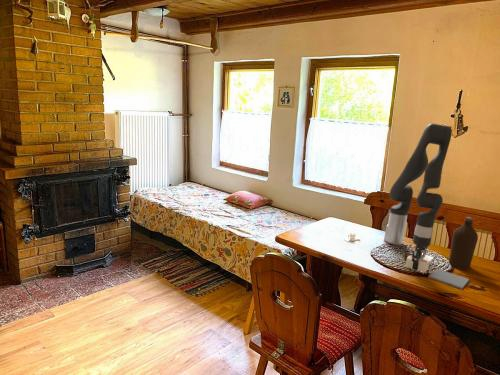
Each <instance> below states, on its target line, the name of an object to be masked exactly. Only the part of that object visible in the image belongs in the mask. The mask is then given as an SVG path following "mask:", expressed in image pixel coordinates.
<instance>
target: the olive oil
mask: <svg viewBox="0 0 500 375" xmlns="http://www.w3.org/2000/svg"><path fill="white" fill-rule="evenodd" d="M473 222H474V218H473V217H471V216H465V219H464V223H463V224H462V225H461V226H458V227H457V228H455V230H454V231H453V234H452V240H451V245H450V246H451V247H450V254H449V259H448V264H449V263H450V264H451V265H450V264H449V265H450V266H452V267H453V268H456V269H460V270H469V269H470V268H471V265H472V260H473V257H474V254H475V251H476V247H477V243H478V239H479V236H478V233H477V231H476V230H475V228H474V227H473Z"/></svg>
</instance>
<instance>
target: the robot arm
mask: <svg viewBox="0 0 500 375" xmlns="http://www.w3.org/2000/svg"><path fill="white" fill-rule="evenodd" d="M451 138H452V128H451V126H449V125H443V124H437V123H429V124H427V125H426V127H425V129H424V130H423V132H422V134H421V136H420V139H419V141H418V143H417V146H416V147H415V149H414V150H413V152H412V154H411V156H410V158H409V159H408V161H407V162H406V165H405V166H404V168H403V170H402V171H401V173H400V175H399V177H398V178H397V179H396V180H395V182H394V183H393V184H392V186H391V187H390V189H389V190H390V191H389V198H390V200H391V201H393V202H398V204H394V205H392V206H391V207H390V209H389V215H388V216H389V217H388V222H387V224H386V226H385V231H384V238H383V241H384V242H386V243H388V244H391V245H396V246H400V245H402V244H403V242H404V237H405V232H406V225H407V220H408V214H409V212H410V208H411V204H412V200H413V195H414V191H413V190H414V189H413V188H412V186H411V185H409V184H410V183H411V184H412V183H413V182H414V181H416V180H418V179H419V178H420V177H422V176H423V182H422V186H421V189H420V190H419V191H420V192H419V193H418V195H417V198H416V204H417V206H418V207H420V208H424V209H425V208H426V209H430V210H429V211H420V212H419V213H418V216H417V220H416V223H415V224H416V225H415V227H414V233H413V238H412V243H413V244H414V245H415V247H414V250H412V255H411V256H412V262H413V267H412V269H414V270H413V271H415V270H417V269H418V264H419V260H420V259H423V257H425V255H427V250H428V247H430V246H431V243H432V237H433V232H434V223H435V219H436V216H437V214H438V212H439V210H440V209H441V207H442V205H443V202H444V200H443V196H442V195H441V194H440V193H433V192H427V191H428V190H434V189H439V188H440V187H441V181H442V180H441V179H442V173H443V168H444V163H445V160H446V157H447V153H448V150H449V146H450V142H451V140H452V139H451ZM430 144H432V145H438V149H437V153H436V154H435V156H433V158H432V159H431V160H430V162H429V158H428V153H427V147H428V145H430ZM415 259H416V260H415ZM412 269H411V270H412Z"/></svg>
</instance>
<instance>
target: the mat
mask: <svg viewBox="0 0 500 375" xmlns="http://www.w3.org/2000/svg"><path fill="white" fill-rule="evenodd" d="M428 278H429V279H431V280H435V281H438V282H440V283H442V284H445V285H448V286H451V287H454V288H457V289H460V290H463V289H464V288H465V287H466V285H467V284H468V283H469V281H470V279H469V278H467V277H464V276H460V275H458V274H454V273H452V272H448V271H445V270H442V269H439V268H436V269H434V270H433V271H432V272H431V273H430V274H429V275H428Z"/></svg>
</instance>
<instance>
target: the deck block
mask: <svg viewBox="0 0 500 375" xmlns="http://www.w3.org/2000/svg"><path fill="white" fill-rule="evenodd" d="M415 260H416V259H415ZM405 261H406V263H405V266H406V267H409V268H412V267H413V262H412V255H411V254H410V255H408V256H407V257H406V260H405ZM429 262H430V261H427V260H424V259H420V260H419V264H418V269H417V270H418V271H422V272H426V271H427V270H429V266H430V264H429ZM406 267H405V268H406ZM409 268H408V269H409ZM418 271H417V272H418ZM427 272H428V271H427ZM427 272H426V273H427Z"/></svg>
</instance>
